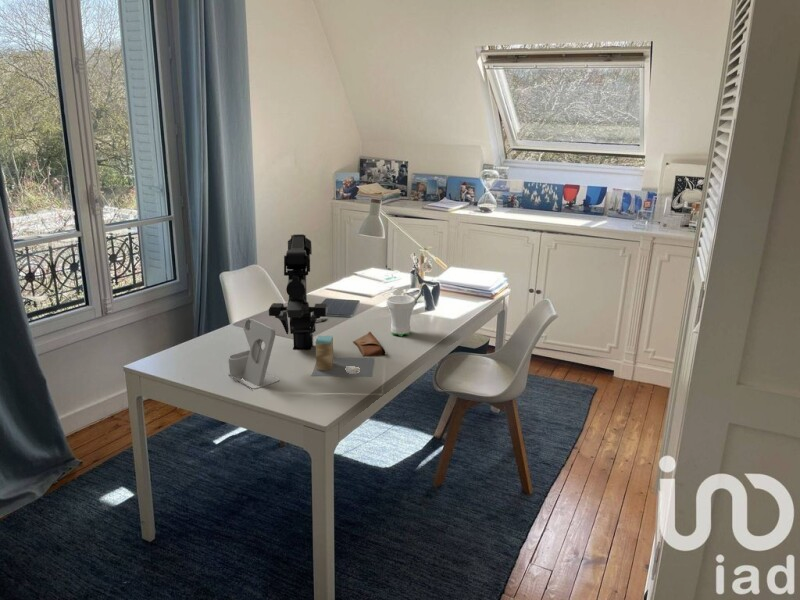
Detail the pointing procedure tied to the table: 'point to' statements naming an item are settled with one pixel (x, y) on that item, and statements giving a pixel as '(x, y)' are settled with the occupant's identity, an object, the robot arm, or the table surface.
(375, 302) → the table surface
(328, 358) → the oak block
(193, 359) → the table surface
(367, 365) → the rubber mat
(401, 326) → the cup
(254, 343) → the phone holder
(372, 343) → the sunglasses case
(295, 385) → the table surface
